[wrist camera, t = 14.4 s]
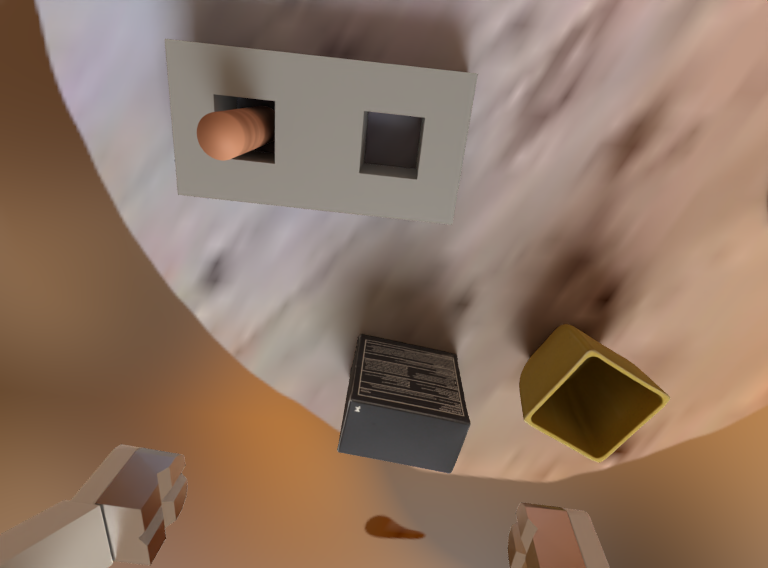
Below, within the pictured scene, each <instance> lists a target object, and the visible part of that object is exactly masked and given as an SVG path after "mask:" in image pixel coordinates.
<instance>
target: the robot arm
mask: <svg viewBox="0 0 768 568" xmlns="http://www.w3.org/2000/svg"><path fill="white" fill-rule="evenodd" d="M184 467H185V460H184V455H181V454H176V453H170V452H164V451H158V450H152V449H146V448H139V447H133V446H127V445H120V446H118V447H116V448H115V449H114V450H112V452H111V453H110V454H109V455H108V457H107V458H106V459H105V460H104V461H103V462H102V464H101V465H100V466H99V467H98V468H97V469H96V471H95V472H94V473H93V474H92V475H91V476H90V478H89V479H88V480H87V482H85V484H84V485H83V486H82V487H81V488H80V489H79V491H78V492H77V493H76V494H75V496H74V497H73V498H72V499H71V500H70V501H68V500H63V501H61V502H59V503H57V504H55V505H53V506H52V507H50V508H48V509H46V510H44V511H42V512H41V513H39V514H37V515H35V516H33V517H31V518H30V519H28V520H26V521H24V522H22V523H20V524H18V525H16V526H15V527H13V528H11V529H9V530H7V531H5V532H3V533H1V534H0V568H108V567H109V566H111V565H112V564H113V561H115V562H124V563H132V564H141V565H149V566H151V564H152V562H153V560H154V559H155V557H156V555H157V553H158V551H159V550H160V548H161V546H162V545H163V543H164V541H165V539H166V534H165V528H166V527H167V526H169V525H170V524H172V523H173V522H174V521H176V520H177V518H178V516H179V514H180V512H181V510H182V508H183V505H184V502H185V499H186V495H187V479H186V478H185V476H183V474H182V473H181V472H182V470H183V469H184ZM516 517H517V522H516V523H515V524H513V525H512V526H511V529H510V532H509V536H508V548H507V549H508V560H509V566H510V568H610V567H609V565H608V562H607V560H606V557H605V555H604V552H603V549H602V547H601V544H600V542H599V539H598V537H597V534H596V532H595V529H594V526H593V524H592V521H591V519H590V517H589V515H588V514H587V513H586V511H579V510H573V509H566V508H561V507H554V506H546V505H537V504H530V503H522V502H521V503H520V504H519V505H518V508H517V510H516Z"/></svg>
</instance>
